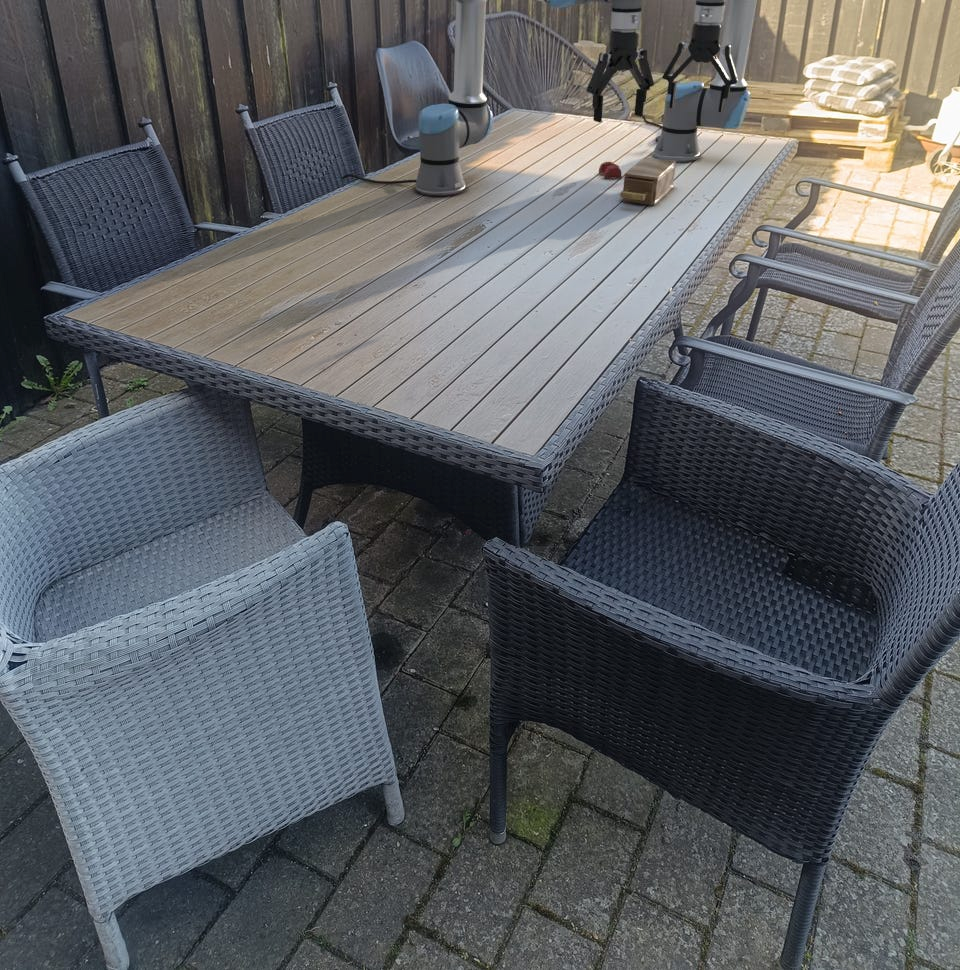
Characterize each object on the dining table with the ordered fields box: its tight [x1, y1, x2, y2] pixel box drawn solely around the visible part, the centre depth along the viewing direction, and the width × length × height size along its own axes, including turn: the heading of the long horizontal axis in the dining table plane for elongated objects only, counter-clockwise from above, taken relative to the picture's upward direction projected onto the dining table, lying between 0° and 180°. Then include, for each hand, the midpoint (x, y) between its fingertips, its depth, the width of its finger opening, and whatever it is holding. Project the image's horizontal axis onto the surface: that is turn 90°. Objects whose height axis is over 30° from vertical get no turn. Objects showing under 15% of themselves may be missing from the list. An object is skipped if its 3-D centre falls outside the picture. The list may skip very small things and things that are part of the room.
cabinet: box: [621, 156, 677, 206], centre depth 252 cm, size 20×10×8 cm, turn 154°
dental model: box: [598, 161, 623, 179], centre depth 269 cm, size 6×4×8 cm
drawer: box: [619, 177, 654, 204], centre depth 249 cm, size 24×9×6 cm, turn 154°
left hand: (618, 118), depth 228 cm, fingers open, 13 cm apart
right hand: (695, 109), depth 236 cm, fingers open, 13 cm apart
